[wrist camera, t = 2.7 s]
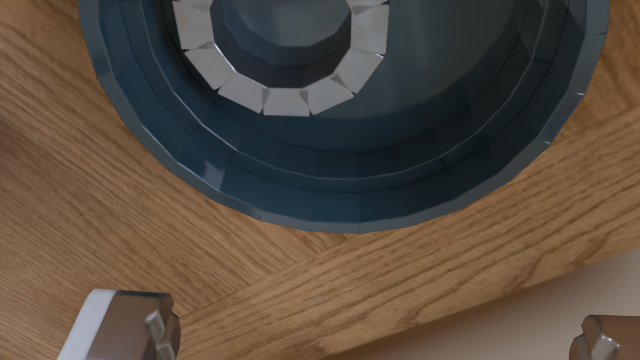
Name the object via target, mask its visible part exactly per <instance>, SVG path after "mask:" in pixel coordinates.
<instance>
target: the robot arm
mask: <svg viewBox="0 0 640 360" xmlns="http://www.w3.org/2000/svg"><path fill="white" fill-rule="evenodd" d="M173 304H174V302H173V300H172V297H171V295H170V293H156V292H141V291H126V290H114V289H94V290H93V291H92V292H91V293H90V294H89V295H88V296H87V298H86V300H85V302H84V304H83V306H82V308H81V311H80V313H79V315H78V317H77V319H76V321H75V323H74V325H73V327H72V329H71V331H70V333H69V336H68V338H67V340H66V342H65V344H64V346H63V348H62V350H61V352H60V354H59V356H58V358H57V360H176V357H177V354H178V350H179V345H180V336H181V329H180V322H179V318H178V316H177V315H175V314H174V313H173V312H171V310H172V307H173ZM581 326H582V329H583V332H584V333H583V334H581V335H579V336H578V337H576V338H574V340H573V342H572V345H571V347H570V352H569V360H640V316H616V315H615V316H614V315H589V316H587V317H585V319H584V321H583V323H582V325H581Z"/></svg>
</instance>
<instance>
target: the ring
mask: <svg viewBox="0 0 640 360" xmlns="http://www.w3.org/2000/svg"><path fill="white" fill-rule="evenodd" d="M345 2H346V3H347V5H348V7H349V9H350V10H351V26H350V29H349V30H348V32H347V33H346V35H345V37H344V38H343V40H342V41H341V43H340V44H339V46H338V47H337V49H336V50H335V52H334V53H332V54H330V55H328V56H326V57H324V58H322V59H320V60H318V61H316V62H314V63H312V64H310V65H308V66H306V67H301V66H272V65H270V64H269V63H267V62H265V61H263V60H261V59H259V58H257V57H255V56H253V55H251V54H249V53H247V52H245V51H243V49H242V48H241V46H240V45H239V44H238V42H237V41H236V40H235V38H234V37H233V36H232V34H231V33H230V32H229V30H228V29H227V27H226V26H225V25H224V21H223V14H222V6H221V0H172V6H173V11H174V16H175V21H176V26H177V32H178V37H179V42H180V47H181V49H182V50H185V51H184V55H185V56H186V57H187V59H188V60H189V61H190V62H191V63H192V65H193V66H194V67H195V68H196V70H197V71H198V72H199V73H200V75H201V76H202V77H203V78H204V79H205V81H206V82H207V83H208V84H209V86H210V87H211V88H212V89H213V90H216V89H218V91H217V93H218V94H219V95H221V96H223V97H225V98H227V99H229V100H231V101H233V102H236V103H238V104H240V105H242V106H244V107H246V108H248V109H250V110H252V111H254V112H256V113H258V114H260V113H261V112H262V110H263V115H267V116H301V117H310V113H312V115H313V116H314V115H317V114H319V113H321V112H323V111H325V110H328V109H330V108H332V107H334V106H336V105H339V104H341V103H343V102H345V101H347V100H350V99H352V98H354V97H355V94H359V92H360V91H361V90H362V88H363V87H364V85H365V84H366V83H367V81H368V80H369V79H370V77H371V76H372V75H373V73H374V72H375V70H376V69H377V68H378V66H379V65H380V64H381V62H382V61H383V59H384V54H386V53H387V40H388V26H389V13H390V0H345Z"/></svg>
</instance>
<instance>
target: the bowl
mask: <svg viewBox="0 0 640 360" xmlns="http://www.w3.org/2000/svg"><path fill="white" fill-rule="evenodd" d="M609 5H610V0H390V13H389V26H388V40H387V53H386V54H384V59H383V61H382V62H381V64H380V65H379V66H378V68H377V69H376V70H375V72H374V73H373V75H372V76H371V77H370V79H369V80H368V81H367V83H366V84H365V85H364V87H363V88H362V90H361V91H360V92H359V94H355V97H354V98H352V99H350V100H347V101H345V102H343V103H341V104H339V105H336V106H334V107H332V108H330V109H328V110H325V111H323V112H321V113H319V114H317V115H314V116H313V115H312V113H310V117H301V116H267V115H263V110H262V112H261V113H260V114H258V113H256V112H254V111H252V110H250V109H248V108H246V107H244V106H242V105H240V104H238V103H236V102H233V101H231V100H229V99H227V98H225V97H223V96H221V95H219V94H218V93H217V91H218V89H216V90H213V89H212V88H211V87H210V86H209V84H208V83H207V82H206V81H205V79H204V78H203V77H202V76H201V75H200V73H199V72H198V71H197V70H196V68H195V67H194V66H193V65H192V63H191V62H190V61H189V60H188V59H187V57H186V56H185V55H184V51H185V50H182V49H181V47H180V42H179V37H178V32H177V26H176V21H175V16H174V11H173V6H172V0H78V11H79V22H80V27H81V30H82V33H83V36H84V39H85V42H86V45H87V49H88V52H89V55H90V58H91V61H92V64H93V67H94V70H95V73H96V76H97V79H98V80H99V83H100V85H101V87H102V88H103V90H104V91H105V93H106V95H107V96H108V98H109V100H110V101H111V103H112V104H113V106H114V108H115V109H116V111H117V112H118V114H119V116H120V117H121V119H122V121H123V122H124V124H125V125H126V127H127V129H128V130H130V132H131V133H132V134H133V135H134V136H135V137H136V139H137V140H138V141H139V142H140V143H141V144H142V145H143V146H144V147H145V148H146V149H147V150H148V151H149V152H150V153H151V154H152V155H153V156H154V157H155V158H156V159H157V160H158V161H159V162H160V163H161V164H162V165H163V166H164V167H165V168H166V169H168V171H170V172H171V173H172V174H174V175H175V176H177V177H178V178H180V179H181V180H183V181H184V182H186V183H187V184H189V185H190V186H192V187H193V188H195V189H196V190H198V191H199V192H201V193H202V194H204V195H205V196H206V197H208V198H209V199H212V200H213V201H215V202H218V203H220V204H222V205H225V206H227V207H229V208H232V209H234V210H236V211H239V212H241V213H243V214H246V215H248V216H250V217H253V218H255V219H259V220H260V221H263V222H268V223H272V224H277V225H281V226H286V227H290V228H294V229H299V230H303V231H311V232H334V233H357V234H358V233H361V234H362V233H369V232H376V231H383V230H390V229H397V228H405V227H410V226H414V225H417V224H420V223H423V222H426V221H429V220H432V219H435V218H438V217H441V216H444V215H447V214H450V213H452V212H455V211H458V210H460V208H461V209H463V208H465V207H467V206H468V205H470V204H472V203H473V202H475V201H477V200H479V199H480V198H482V197H484V196H486V195H487V194H489V193H491V192H493V191H494V190H496V189H498V188H500V187H501V186H503V185H505V184H506V183H508V182H510V181H511V180H512V179H513V178H514V177H516V176H517V175H518V174H519V173H520V172H521V171H522V170H523V169H524V168H526V167H527V166H528V165H529V164H530V163H531V162H532V161H533V160H534V159H535V158H537V157H538V156H539V155H540V154H541V153H542V152H543V151H544V150H545V149H547V148H548V147H549V146H550V145H551V143H552V142H553V140H554V139H555V137H556V136H557V135H558V133H559V132H560V130H561V129H562V127H563V126H564V124H565V123H566V121H567V120H568V119H569V117H570V116H571V114H572V113H573V111H574V110H575V108H576V107H577V105H578V104H579V103H580V101H581V100H582V98H583V97H584V94H585V93H586V91H587V89H588V86H589V83H590V80H591V78H592V75H593V72H594V69H595V66H596V64H597V61H598V58H599V55H600V53H601V50H602V47H603V44H604V41H605V39H606V36H607V32H608V21H609ZM221 6H222V14H223V21H224V25H225V26H226V27H227V29H228V30H229V32H230V33H231V34H232V36H233V37H234V38H235V40H236V41H237V42H238V44H239V45H240V46H241V48H242V49H243V51H245V52H247V53H249V54H251V55H253V56H255V57H257V58H259V59H261V60H263V61H265V62H267V63H269V64H270V65H272V66H301V67H306V66H308V65H310V64H312V63H314V62H316V61H318V60H320V59H322V58H324V57H326V56H328V55H330V54H332V53H334V52H335V50H336V49H337V47H338V46H339V44H340V43H341V41H342V40H343V38H344V37H345V35H346V33H347V32H348V30H349V29H350V26H351V10H350V9H349V7H348V5H347V3H346V2H345V0H221Z"/></svg>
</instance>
